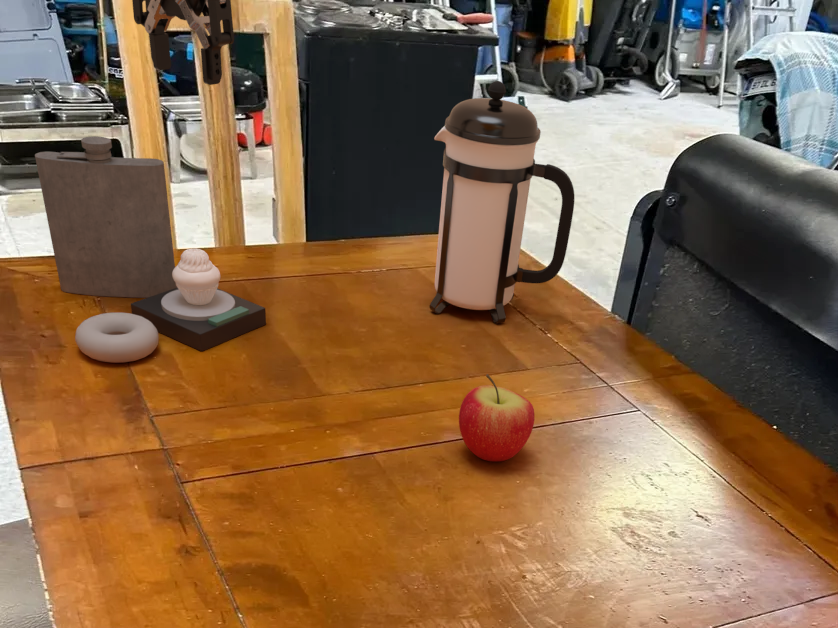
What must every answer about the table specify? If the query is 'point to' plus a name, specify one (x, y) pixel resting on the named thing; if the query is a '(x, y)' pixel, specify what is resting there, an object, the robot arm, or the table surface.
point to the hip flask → (108, 221)
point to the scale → (200, 317)
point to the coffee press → (490, 204)
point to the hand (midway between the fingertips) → (187, 76)
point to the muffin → (196, 277)
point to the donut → (116, 337)
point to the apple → (495, 422)
